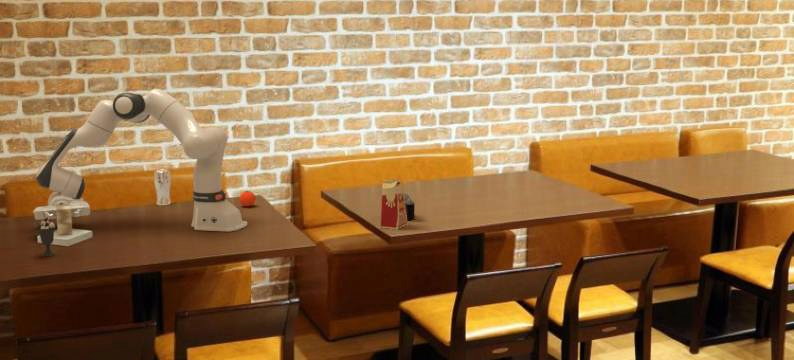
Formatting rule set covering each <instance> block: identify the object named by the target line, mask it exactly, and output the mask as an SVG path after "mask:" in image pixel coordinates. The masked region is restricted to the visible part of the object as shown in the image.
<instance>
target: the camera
mask: <svg viewBox="0 0 794 360" xmlns="http://www.w3.org/2000/svg"><path fill="white" fill-rule="evenodd" d="M403 196H404V201H405V207H406V213H407V222H408V221H412V220H414V221H415V201H414V200H412V198H411V197H410V195H409V194H408V193H405V192H403ZM412 222H413V221H412Z"/></svg>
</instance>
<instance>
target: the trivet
mask: <svg viewBox="0 0 794 360" xmlns="http://www.w3.org/2000/svg"><path fill="white" fill-rule="evenodd" d="M72 233H73V234H72V235H62V236H59V235H58V230H57V229H54V239H53V242H52V243H51V244H50V245H54V246H61V247H69V246H72V245H76V244H78V243H82V242H83V241H86V240H88V239H92V238H93V230H87V229H77V228H72ZM36 237H37V243H38V244H43V243H42V241H41V238H40V235H37V236H36Z"/></svg>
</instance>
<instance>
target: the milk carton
mask: <svg viewBox="0 0 794 360" xmlns="http://www.w3.org/2000/svg"><path fill="white" fill-rule="evenodd" d="M381 182H382V189H381V191H382V192H381V202H380V203H381V206H380V227H379V228H380V229H385V228H390V229H389V230H393V229H396V230H395V231H398V230H400V229H399V228H401V227H403V226H405V225H407V224H408V221H407V213H406V207H405V201H404V196H403V193H404V192H403V188H402V183H401V182H400V181H399V177H396V178H393V179H388V180H381ZM407 226H408V225H407ZM405 227H406V226H405ZM403 228H404V227H403ZM397 229H398V230H397ZM401 229H402V228H401Z"/></svg>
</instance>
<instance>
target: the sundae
mask: <svg viewBox="0 0 794 360" xmlns="http://www.w3.org/2000/svg"><path fill="white" fill-rule="evenodd" d="M51 214H52V213H50V214H49V215H51ZM36 224H37V226H36V228H35V229H36V230H37V231H38V232H39V233H38V234H39V236H40V238H41V241H42V243H41V244H43V245H45V251H44V252H43V253H41V254H40V256H42V257H51V256H52V257H53V256H55V255H56V254H57V253H56V252H54V251H51V248H50V247H51V246H50V245H52V244H51V243H52V242H53V239H54V231H55V230H56V228H57V225H55V224H54V222H53V219H48V218H45V219H41V221H40V223H38V222H36Z"/></svg>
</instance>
